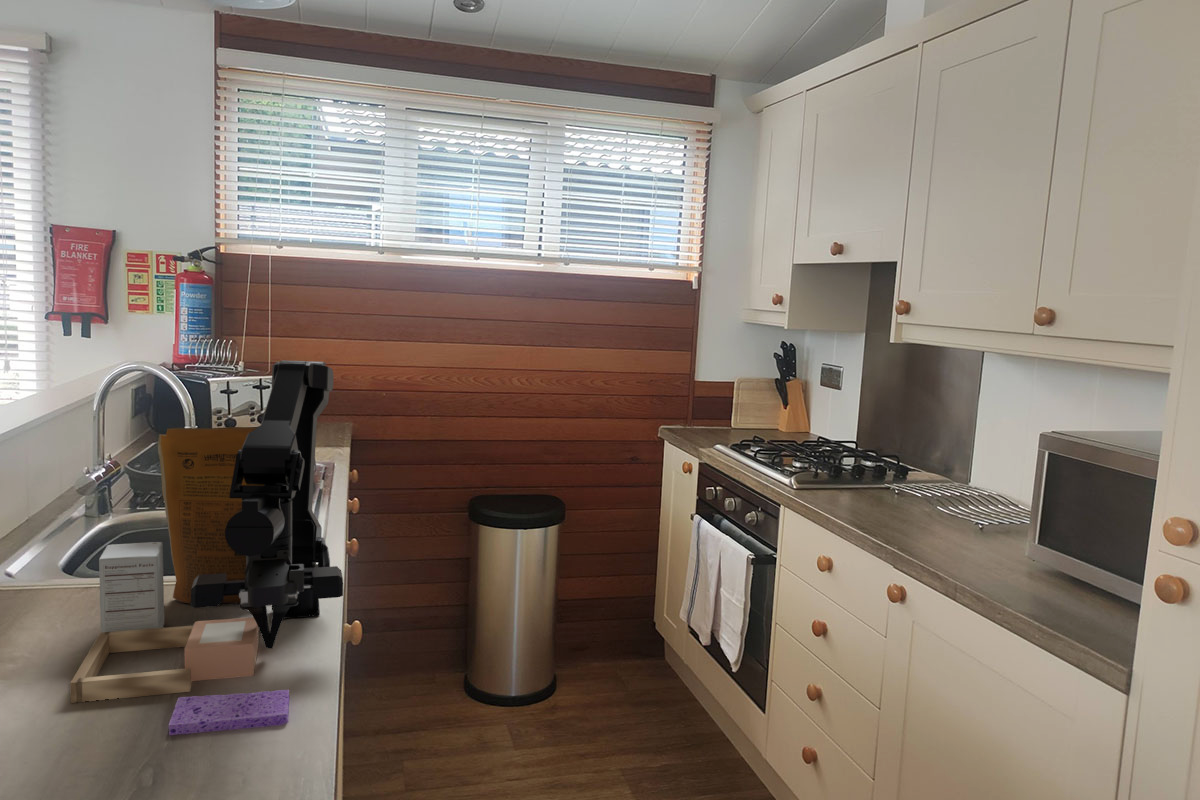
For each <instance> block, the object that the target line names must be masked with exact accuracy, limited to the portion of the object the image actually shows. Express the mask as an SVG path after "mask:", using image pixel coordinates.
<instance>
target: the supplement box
mask: <svg viewBox="0 0 1200 800" xmlns="http://www.w3.org/2000/svg"><path fill="white" fill-rule="evenodd" d="M163 545H164V543H163V542H162V541H155V542H154V541H150V542H149V541H148V542H132V543H131V542H130V543H119V544H118V543H116V544H107V545H106V547H105V548H104V549H103V552H102V554H101V555H100V556H99V559H98V566H99V573H98V574H99V608H100V610H99V611H100V613H99V614H100V616H99V617H100V633H101V632H114V631H128V630H141V629H154V628H164V625H165V600H164V599H165V598H164V597H165V595H164V591H165V590H164V589H165V588H164V547H163Z"/></svg>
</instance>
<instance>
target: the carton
mask: <svg viewBox="0 0 1200 800" xmlns="http://www.w3.org/2000/svg"><path fill="white" fill-rule="evenodd" d="M192 626H193V629H192V631H191V634H190V637H189V639H188V642H187V644H186V647H184V669H186V668H191V682H195V681H196V682H197V681H206V680H207V681H208V680H221V679H229V678H239V677H240V678H241V677H242V678H243V676H244V677H252V676H254V673H255V667H256V662H257V661H256V660H257V655H258V650H259V628H258V625H257V623H256V621H255V619H254V617H253V616H252V617H238V618H237V617H236V618H224V619H211V620H207V619H206V620H197V621H196V620H195V622H194V623H193V625H192Z"/></svg>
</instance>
